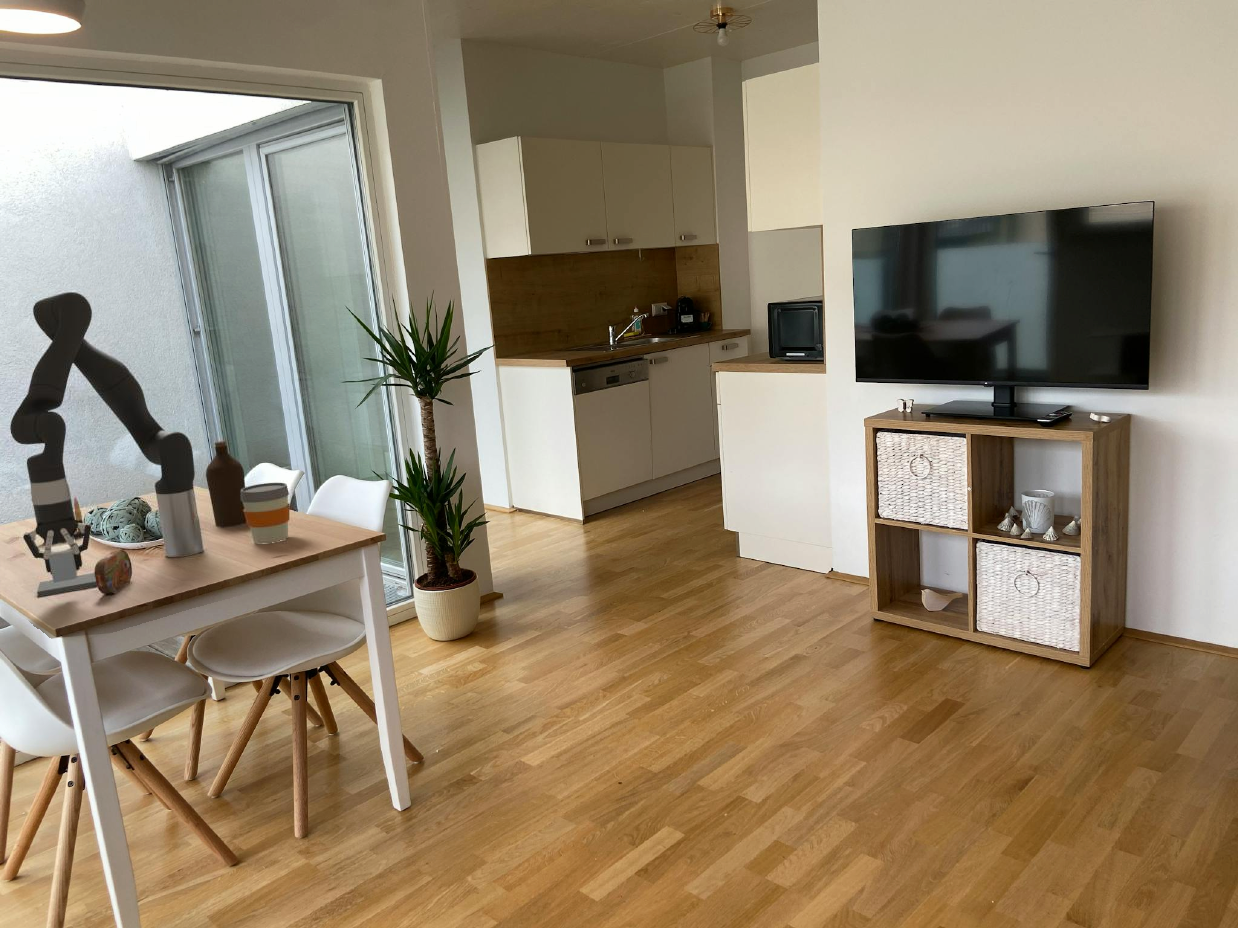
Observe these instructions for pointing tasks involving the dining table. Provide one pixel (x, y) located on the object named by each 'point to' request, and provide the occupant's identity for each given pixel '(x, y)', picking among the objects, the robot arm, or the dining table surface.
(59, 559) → the box
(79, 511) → the ammunition clip
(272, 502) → the reusable coffee cup
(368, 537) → the dining table surface
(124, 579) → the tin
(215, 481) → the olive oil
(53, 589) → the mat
